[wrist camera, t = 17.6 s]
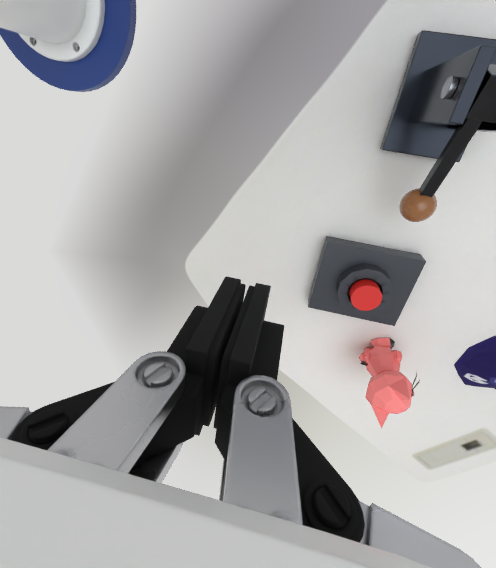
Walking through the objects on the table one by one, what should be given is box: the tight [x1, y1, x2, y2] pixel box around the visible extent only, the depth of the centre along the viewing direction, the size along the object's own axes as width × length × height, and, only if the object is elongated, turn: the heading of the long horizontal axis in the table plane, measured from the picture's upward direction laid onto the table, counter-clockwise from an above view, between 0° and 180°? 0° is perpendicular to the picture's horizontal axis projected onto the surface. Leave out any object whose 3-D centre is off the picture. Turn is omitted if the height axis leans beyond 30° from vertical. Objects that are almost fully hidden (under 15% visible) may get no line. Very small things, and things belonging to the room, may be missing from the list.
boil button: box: [349, 279, 382, 311], centre depth 36 cm, size 4×4×2 cm
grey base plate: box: [308, 236, 426, 326], centre depth 39 cm, size 12×10×4 cm
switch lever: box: [400, 64, 496, 222], centre depth 25 cm, size 13×3×3 cm, turn 172°
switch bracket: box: [380, 31, 496, 162], centre depth 25 cm, size 10×8×12 cm
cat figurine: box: [359, 338, 420, 428], centre depth 40 cm, size 7×7×12 cm
